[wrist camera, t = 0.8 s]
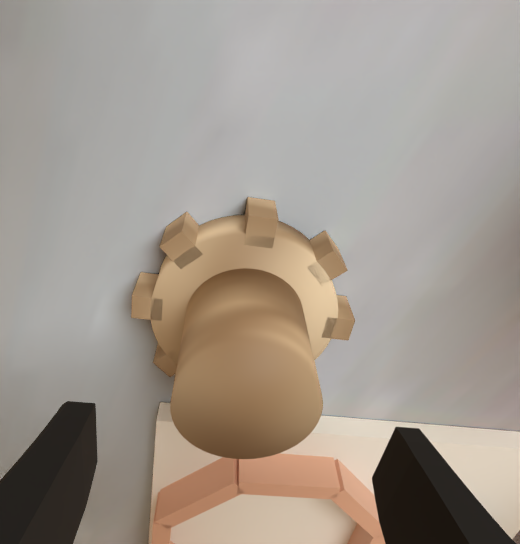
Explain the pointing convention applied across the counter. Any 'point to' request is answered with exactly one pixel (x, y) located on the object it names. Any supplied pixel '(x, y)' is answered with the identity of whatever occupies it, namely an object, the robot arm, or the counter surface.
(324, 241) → the gear
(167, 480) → the carrier board
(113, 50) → the counter surface
